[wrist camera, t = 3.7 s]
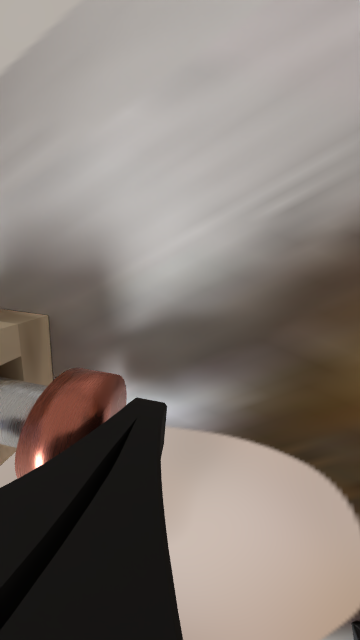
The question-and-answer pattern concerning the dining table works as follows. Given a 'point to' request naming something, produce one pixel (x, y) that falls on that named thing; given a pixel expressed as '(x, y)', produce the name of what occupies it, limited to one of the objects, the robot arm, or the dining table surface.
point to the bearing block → (24, 353)
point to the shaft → (55, 413)
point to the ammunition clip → (356, 631)
